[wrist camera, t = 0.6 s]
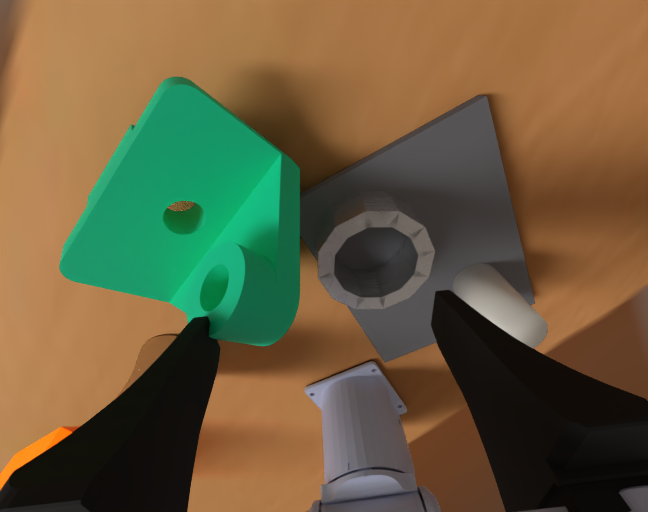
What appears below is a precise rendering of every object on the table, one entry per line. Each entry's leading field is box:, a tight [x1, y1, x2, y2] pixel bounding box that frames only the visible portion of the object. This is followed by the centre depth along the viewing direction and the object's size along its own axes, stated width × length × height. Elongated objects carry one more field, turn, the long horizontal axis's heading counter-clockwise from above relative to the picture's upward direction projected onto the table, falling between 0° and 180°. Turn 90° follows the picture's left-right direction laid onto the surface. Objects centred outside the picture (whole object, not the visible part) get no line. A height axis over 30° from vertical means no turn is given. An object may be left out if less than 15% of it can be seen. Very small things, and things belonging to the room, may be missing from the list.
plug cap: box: [452, 263, 548, 349], centre depth 22 cm, size 4×4×6 cm
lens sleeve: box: [317, 191, 435, 309], centre depth 21 cm, size 7×7×4 cm
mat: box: [300, 95, 535, 362], centre depth 24 cm, size 18×14×1 cm
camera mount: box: [59, 77, 300, 346], centre depth 15 cm, size 12×8×10 cm, turn 139°
